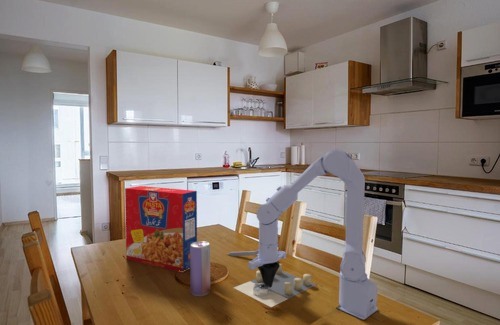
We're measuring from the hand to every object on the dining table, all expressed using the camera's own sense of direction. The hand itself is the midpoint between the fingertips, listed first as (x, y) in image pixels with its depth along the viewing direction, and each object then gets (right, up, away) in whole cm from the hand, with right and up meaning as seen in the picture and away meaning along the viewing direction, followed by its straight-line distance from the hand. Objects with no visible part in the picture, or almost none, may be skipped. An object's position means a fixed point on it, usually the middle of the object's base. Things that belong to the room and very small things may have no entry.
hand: (267, 286), depth 98 cm
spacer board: (+2, -2, +2) cm, 3 cm away
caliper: (-5, -1, +29) cm, 30 cm away
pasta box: (-39, -1, +25) cm, 47 cm away
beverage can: (-21, -2, 0) cm, 21 cm away
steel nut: (-2, -1, -2) cm, 3 cm away
